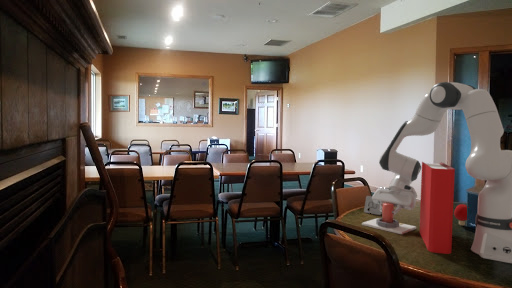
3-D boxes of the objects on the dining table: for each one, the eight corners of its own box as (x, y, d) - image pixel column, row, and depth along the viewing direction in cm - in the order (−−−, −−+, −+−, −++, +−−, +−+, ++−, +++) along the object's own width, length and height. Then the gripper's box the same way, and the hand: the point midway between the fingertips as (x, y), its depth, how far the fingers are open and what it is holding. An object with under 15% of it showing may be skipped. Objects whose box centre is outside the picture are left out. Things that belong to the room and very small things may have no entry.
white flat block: (416, 228, 175) (416, 222, 175) (401, 234, 165) (401, 227, 165) (377, 220, 190) (377, 214, 189) (361, 224, 180) (361, 218, 180)
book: (419, 232, 169) (422, 161, 167) (438, 233, 167) (441, 162, 165) (428, 252, 143) (431, 168, 141) (452, 254, 141) (455, 169, 139)
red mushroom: (454, 222, 186) (454, 202, 186) (470, 224, 183) (471, 204, 182) (452, 226, 178) (453, 206, 178) (469, 229, 175) (470, 208, 174)
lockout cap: (395, 222, 176) (395, 204, 176) (389, 223, 173) (390, 205, 173) (385, 220, 180) (385, 202, 180) (380, 221, 177) (380, 203, 176)
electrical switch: (363, 212, 205) (364, 195, 205) (367, 212, 209) (368, 195, 209) (380, 215, 199) (381, 198, 199) (384, 215, 203) (385, 197, 203)
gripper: (376, 182, 188) (365, 204, 182) (416, 188, 173) (406, 212, 167) (380, 190, 191) (369, 212, 185) (420, 196, 176) (410, 220, 170)
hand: (387, 212), depth 176 cm, fingers closed on lockout cap, 5 cm apart
